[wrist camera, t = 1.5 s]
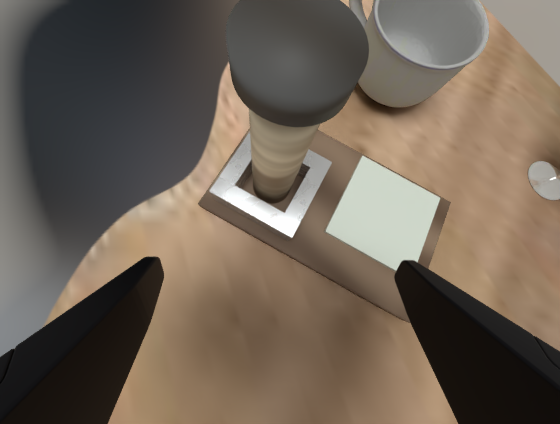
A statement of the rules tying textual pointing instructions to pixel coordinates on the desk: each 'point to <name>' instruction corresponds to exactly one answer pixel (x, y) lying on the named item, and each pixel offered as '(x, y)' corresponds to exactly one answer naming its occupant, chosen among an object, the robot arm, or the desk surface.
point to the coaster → (383, 215)
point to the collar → (258, 210)
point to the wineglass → (545, 179)
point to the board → (322, 247)
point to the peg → (291, 78)
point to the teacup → (418, 46)
